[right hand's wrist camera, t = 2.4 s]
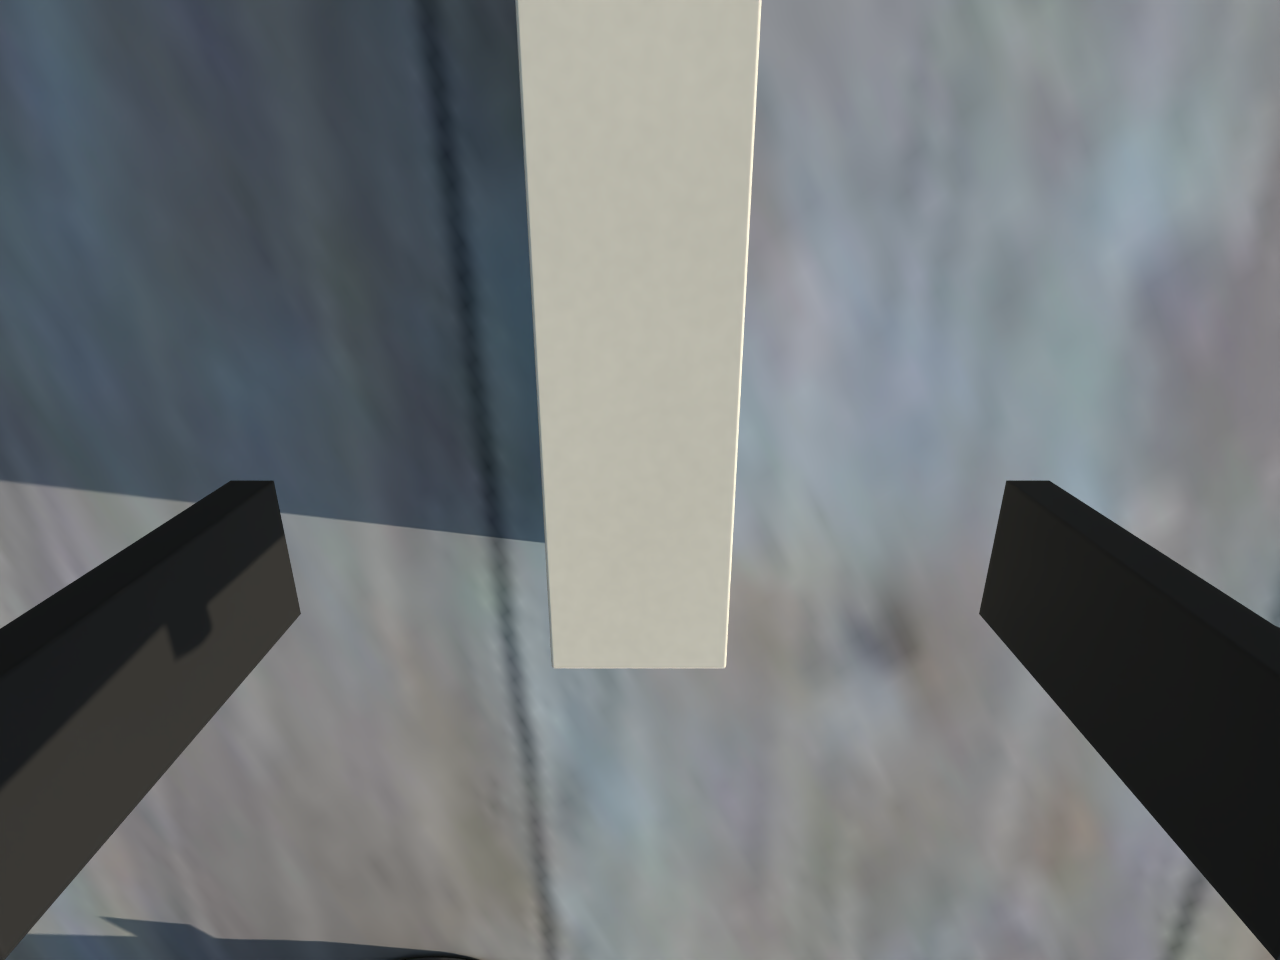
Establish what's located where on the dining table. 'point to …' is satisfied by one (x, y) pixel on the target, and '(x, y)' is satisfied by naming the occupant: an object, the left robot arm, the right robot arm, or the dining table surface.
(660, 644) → the beam
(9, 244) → the dining table surface
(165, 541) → the right robot arm
